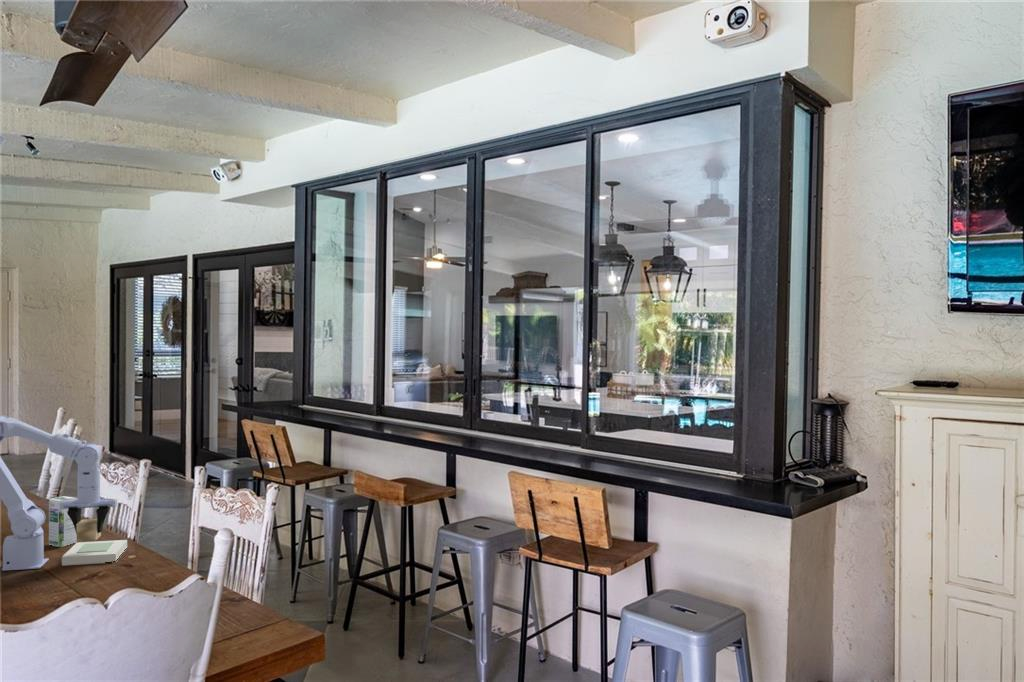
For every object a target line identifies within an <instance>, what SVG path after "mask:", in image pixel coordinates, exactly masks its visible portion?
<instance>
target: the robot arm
mask: <svg viewBox="0 0 1024 682" xmlns="http://www.w3.org/2000/svg"><path fill="white" fill-rule="evenodd" d="M14 437H21V438H23V439H25V440H29V441H31V442H35V443H38V444H41V445H44V446H47V447H48V449H49V452H50V453H53V454H55V455H58V456H61V457H64V458H66V459H69V460H72V461H75V462H76V464H77V500H73V501H62V502H61V503H60V510H61V509H68V511H67V514H68V516H69V517H70V519H71V520H72V522H73V525H74V527H75V531H76V534H77V528H76V524H77V523H79V522H80V521H81V520H82V510H83V509H88V508H89V509H90V508H93V509H94V508H96V511H95V512H96V519H97V532H98V533H100V532H101V533H102V532H103V526H104V522H105V519H106V517H107V515H108V512H110V508H116V507H117V506H118V499H116V498H115V499H114V498H112V499H111V498H110V499H108V498H101V469H100V467H101V466H100V459H101V456H102V449H101V447H100V446H99V445H98V444H96V443H95V442H88V441H87V440H79V439H77V438H74V437H72V436H71V434H70V433H68V432H65V433H64V434H63V433H62V432H60V433H57V434H51V433H50V432H47V431H45V430H42V429H40V428H38V427H35V426H32V425H31V424H28V423H26V422H23V421H21V420H20V419H17V418H15V417H8V416H6V415H4V414H0V445H1V443H2V442H3V441H2V440H4V439H5V438H6V439H8V438H14ZM87 442H88V443H87ZM0 500H1V501H2V503H3V504H4V506H5V507H6V508H7V519H8V520H9V521H10V530H11V532H12V533H13V534H12V535H7V536H6V537H5V538H4V540H3V544H2V569H1V571H2V572H3V571H17V570H18V571H19V570H33V569H35V570H36V569H37V570H38V569H40V568H42V567H43V566H44V565H45V564H46V563H47V562H48V561H49V559H50V558H49V557H47V558H44V557H45V555H44V554H45V551H44V549H45V547H44V546H45V545H44V541H45V540H44V539H45V538H44V535H45V534H44V529H43V528H42V526H43V525H44V524H45V522H46V520H47V519H46V514H45V512H44V510H43V509H41V508H39V507H38V506H37V505H36V504H35V503H34V501H32V500H31V499H29V498H27V496H26V495H25V493H24V491H23V490H22V489H21V486H20V485H19V483H18V482H17V480H16V479H15V477H14V476H13V474H12V473H11V471H10V469H9V468H8V466H7V465H6V463H5V462H4V460H3V458H2V456H0Z"/></svg>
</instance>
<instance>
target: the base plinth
mask: <svg viewBox="0 0 1024 682" xmlns="http://www.w3.org/2000/svg"><path fill="white" fill-rule="evenodd" d="M126 548H128V539H120V540H119V539H116V540H100V541H98V540H96V541H78V542H77V543H74V545H73V546H71V547H70V549H69V550H67V551H66V552H65V553H64V554H63V555H62V556H61V566H63V567H64V566H79V565H93V564H96V565H97V564H106V563H105V562H111V561H116V560H117V559H118V558H119V556H120V555H121V554H122V553H123V552H124V553H125V551H126V550H127V549H126ZM125 549H126V550H125ZM124 550H125V551H124ZM124 553H123V554H124ZM123 554H122V555H123ZM122 555H121V556H122ZM121 556H120V557H121ZM119 559H120V558H119ZM119 559H118V560H119ZM118 560H117V561H118ZM117 561H116V562H117Z"/></svg>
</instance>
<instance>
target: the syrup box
mask: <svg viewBox="0 0 1024 682" xmlns="http://www.w3.org/2000/svg"><path fill="white" fill-rule="evenodd" d="M73 500H78V497H74V496H66V495H63V496H56V497H52V498H50V499H48V546H50V545H52V547H56V548H57V547H58V548H63V547H67V545H68V546H70V544H71V545H73V543H74V544H76V543H77V534H76V531H75V527H74V525H73V522H72V520H71V519H70V517H69V516H68V514H67V511H68V509H61V510H60V503H61V502H62V501H73Z"/></svg>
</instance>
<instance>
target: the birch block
mask: <svg viewBox="0 0 1024 682" xmlns="http://www.w3.org/2000/svg"><path fill="white" fill-rule="evenodd" d="M76 528H77V542H95V541H98V539H99V538H100V537H102V531H101V532H100V533H98V532H97V518H91V519H90V518H87V519H81V521H80V522H79V523H77V524H76Z"/></svg>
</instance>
